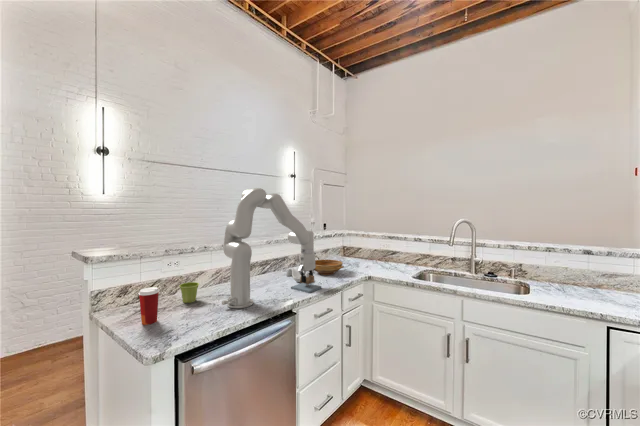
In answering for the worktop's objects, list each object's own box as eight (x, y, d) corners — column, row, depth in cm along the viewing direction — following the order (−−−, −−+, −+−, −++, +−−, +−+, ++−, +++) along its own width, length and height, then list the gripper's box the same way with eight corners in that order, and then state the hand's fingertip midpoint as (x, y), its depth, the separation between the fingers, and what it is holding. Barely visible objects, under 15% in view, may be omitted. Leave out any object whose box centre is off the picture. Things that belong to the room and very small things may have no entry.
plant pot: (203, 300, 147) (203, 283, 147) (186, 305, 139) (186, 288, 139) (192, 297, 152) (191, 281, 152) (175, 302, 144) (175, 285, 143)
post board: (309, 293, 159) (309, 277, 159) (290, 288, 168) (290, 273, 167) (321, 288, 169) (321, 273, 169) (303, 284, 177) (303, 269, 177)
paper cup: (163, 318, 123) (163, 286, 123) (153, 325, 115) (153, 292, 115) (145, 318, 123) (144, 286, 122) (134, 326, 115) (133, 292, 115)
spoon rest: (313, 282, 183) (313, 271, 183) (298, 285, 176) (298, 273, 176) (295, 275, 202) (295, 265, 202) (281, 277, 196) (281, 267, 195)
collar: (307, 284, 165) (307, 278, 165) (300, 282, 168) (300, 276, 168) (314, 281, 169) (314, 276, 169) (306, 280, 173) (306, 274, 173)
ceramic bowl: (300, 273, 207) (300, 262, 207) (321, 267, 226) (321, 257, 226) (332, 279, 188) (332, 268, 188) (352, 273, 207) (352, 262, 207)
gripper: (302, 253, 159) (302, 285, 160) (320, 250, 173) (320, 279, 173) (293, 252, 164) (292, 283, 164) (311, 249, 178) (311, 277, 178)
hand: (307, 280), depth 169 cm, fingers closed on collar, 6 cm apart
